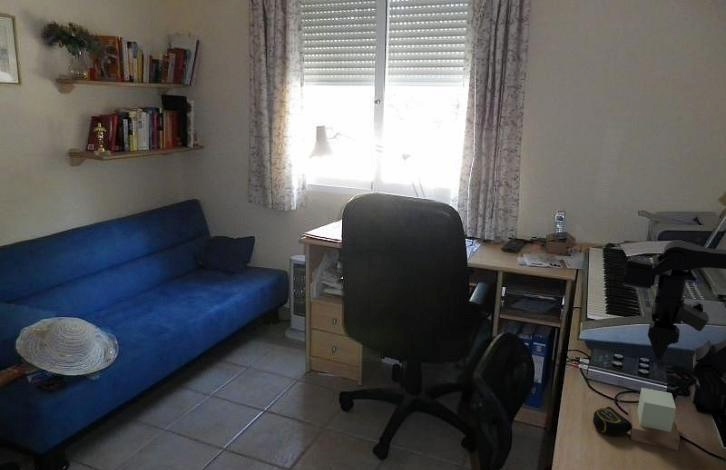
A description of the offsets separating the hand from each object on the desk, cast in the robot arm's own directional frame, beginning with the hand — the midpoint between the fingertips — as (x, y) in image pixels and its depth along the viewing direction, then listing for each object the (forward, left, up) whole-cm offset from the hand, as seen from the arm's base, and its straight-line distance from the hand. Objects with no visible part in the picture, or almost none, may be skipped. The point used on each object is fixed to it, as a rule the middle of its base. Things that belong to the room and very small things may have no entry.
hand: (659, 351), depth 129 cm
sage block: (+2, +18, -8) cm, 20 cm away
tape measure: (+11, +19, -12) cm, 25 cm away
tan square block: (+2, +18, -12) cm, 21 cm away
